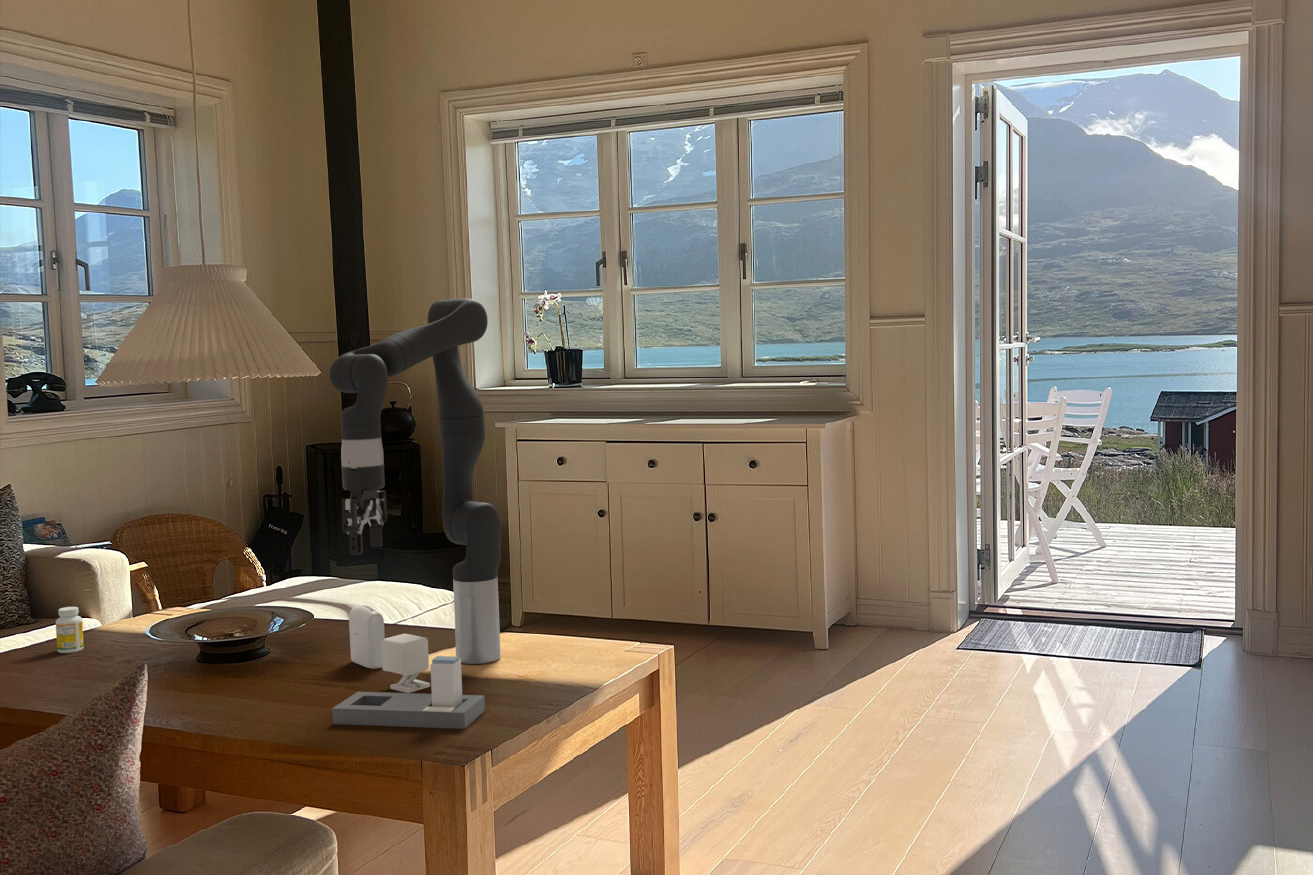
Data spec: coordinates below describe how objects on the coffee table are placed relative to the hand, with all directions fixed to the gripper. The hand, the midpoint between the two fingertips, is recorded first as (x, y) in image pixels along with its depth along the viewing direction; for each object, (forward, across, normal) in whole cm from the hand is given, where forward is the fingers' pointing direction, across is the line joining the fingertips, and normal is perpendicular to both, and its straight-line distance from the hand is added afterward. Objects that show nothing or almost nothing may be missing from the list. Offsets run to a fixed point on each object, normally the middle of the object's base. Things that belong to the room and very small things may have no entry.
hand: (366, 550), depth 212 cm
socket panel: (+28, +11, +12) cm, 32 cm away
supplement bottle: (+28, -29, -86) cm, 95 cm away
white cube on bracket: (+28, -7, +4) cm, 29 cm away
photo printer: (+28, -24, -12) cm, 39 cm away
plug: (+27, +11, +19) cm, 35 cm away
